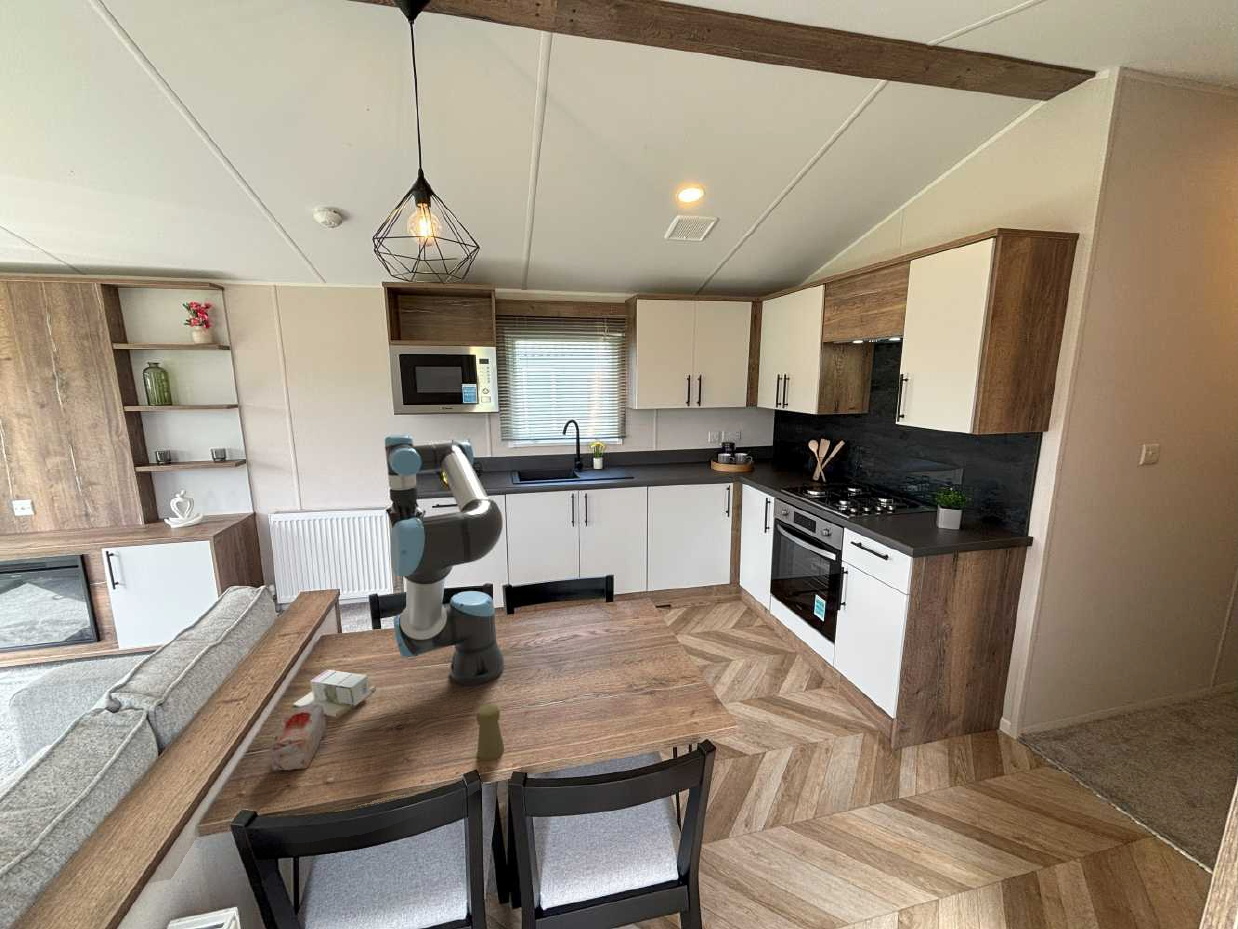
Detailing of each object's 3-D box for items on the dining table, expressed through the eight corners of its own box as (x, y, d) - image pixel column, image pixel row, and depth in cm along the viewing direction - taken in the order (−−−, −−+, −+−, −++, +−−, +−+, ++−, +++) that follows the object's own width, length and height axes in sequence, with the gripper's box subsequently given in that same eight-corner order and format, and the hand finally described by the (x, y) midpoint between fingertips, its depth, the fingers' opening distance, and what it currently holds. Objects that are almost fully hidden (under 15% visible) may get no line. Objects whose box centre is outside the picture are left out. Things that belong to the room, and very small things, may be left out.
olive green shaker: (480, 742, 117) (476, 700, 115) (505, 740, 117) (503, 699, 115) (474, 762, 111) (471, 718, 109) (502, 759, 112) (499, 716, 109)
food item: (311, 772, 109) (305, 732, 107) (270, 779, 107) (263, 740, 105) (330, 729, 122) (325, 693, 120) (294, 735, 120) (288, 699, 118)
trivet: (375, 689, 137) (375, 686, 137) (338, 718, 126) (337, 714, 126) (332, 678, 142) (332, 675, 142) (293, 705, 131) (292, 701, 131)
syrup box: (368, 674, 132) (328, 668, 137) (349, 687, 127) (308, 681, 132) (371, 693, 133) (331, 686, 138) (353, 707, 128) (312, 700, 133)
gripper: (429, 485, 149) (436, 559, 153) (394, 482, 153) (402, 554, 157) (412, 491, 142) (419, 568, 146) (376, 488, 146) (384, 563, 150)
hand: (410, 561), depth 152 cm, fingers closed
